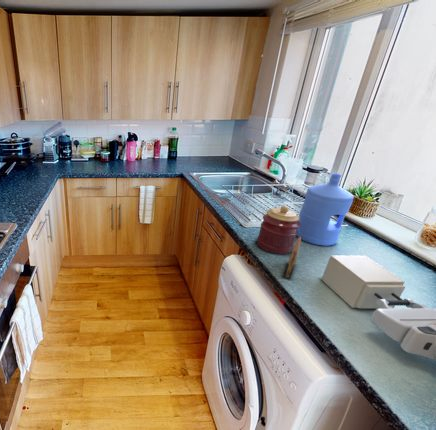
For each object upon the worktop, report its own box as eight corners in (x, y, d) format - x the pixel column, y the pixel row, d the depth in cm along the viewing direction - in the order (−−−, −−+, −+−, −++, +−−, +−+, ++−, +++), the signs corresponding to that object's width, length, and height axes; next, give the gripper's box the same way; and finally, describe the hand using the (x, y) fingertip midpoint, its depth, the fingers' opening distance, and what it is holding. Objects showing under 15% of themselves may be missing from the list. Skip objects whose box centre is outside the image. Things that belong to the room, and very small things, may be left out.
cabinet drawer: (407, 319, 79) (420, 297, 76) (371, 319, 79) (383, 297, 76) (359, 281, 94) (368, 261, 91) (328, 281, 94) (336, 261, 91)
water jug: (291, 239, 122) (312, 175, 110) (295, 225, 134) (314, 167, 122) (336, 250, 114) (363, 183, 102) (336, 235, 126) (360, 173, 114)
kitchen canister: (298, 248, 115) (311, 208, 107) (281, 258, 108) (294, 216, 100) (266, 235, 124) (277, 197, 117) (249, 243, 118) (259, 204, 110)
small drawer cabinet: (390, 307, 85) (405, 281, 81) (352, 307, 84) (365, 281, 80) (354, 279, 97) (365, 255, 93) (321, 279, 97) (330, 255, 93)
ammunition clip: (288, 263, 105) (297, 234, 100) (294, 264, 104) (303, 236, 99) (283, 277, 97) (293, 246, 92) (289, 279, 96) (300, 248, 91)
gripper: (498, 331, 65) (434, 291, 77) (411, 332, 64) (361, 291, 77) (482, 351, 67) (423, 309, 80) (398, 352, 67) (352, 309, 79)
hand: (392, 300), depth 78 cm, fingers closed on cabinet drawer, 6 cm apart
